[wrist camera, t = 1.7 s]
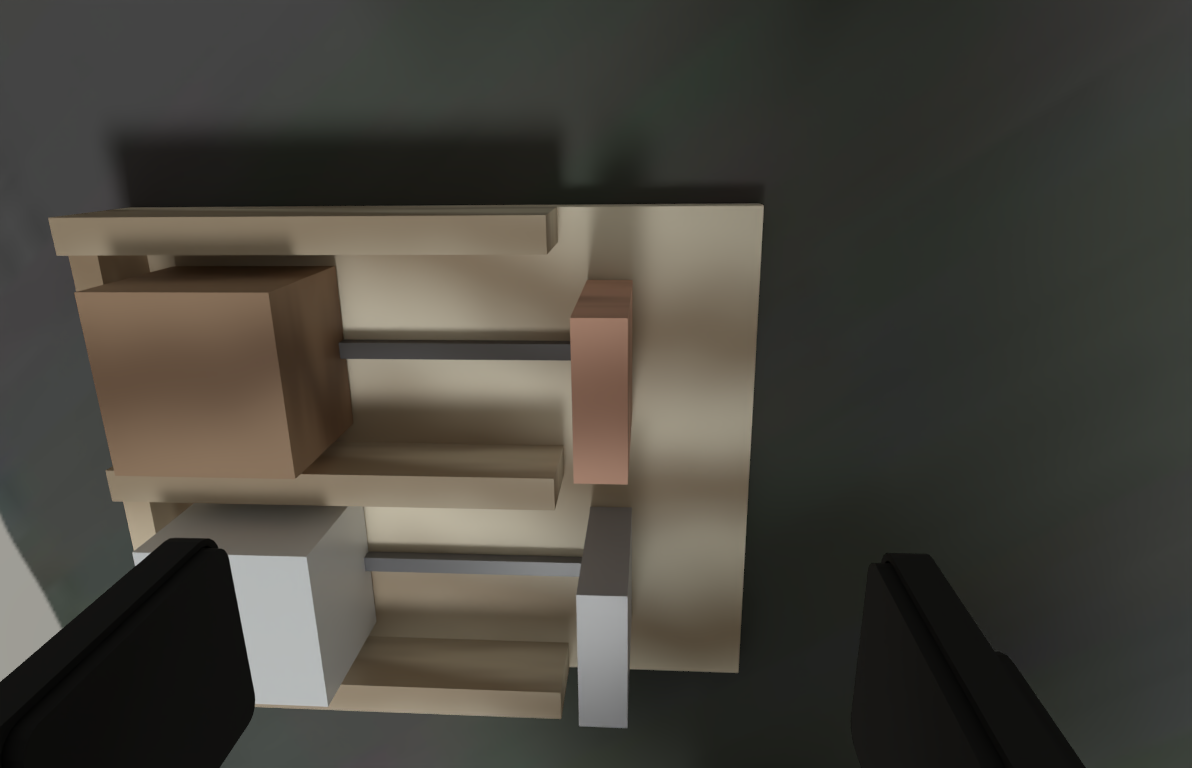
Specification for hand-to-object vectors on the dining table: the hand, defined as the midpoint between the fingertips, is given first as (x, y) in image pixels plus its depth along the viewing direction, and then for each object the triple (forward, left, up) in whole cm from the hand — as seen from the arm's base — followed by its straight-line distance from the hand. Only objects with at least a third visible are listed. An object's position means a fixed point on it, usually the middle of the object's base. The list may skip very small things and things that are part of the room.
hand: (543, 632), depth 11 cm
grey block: (-9, +7, -17) cm, 21 cm away
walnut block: (0, +7, -17) cm, 19 cm away
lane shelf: (-5, +6, -18) cm, 20 cm away
